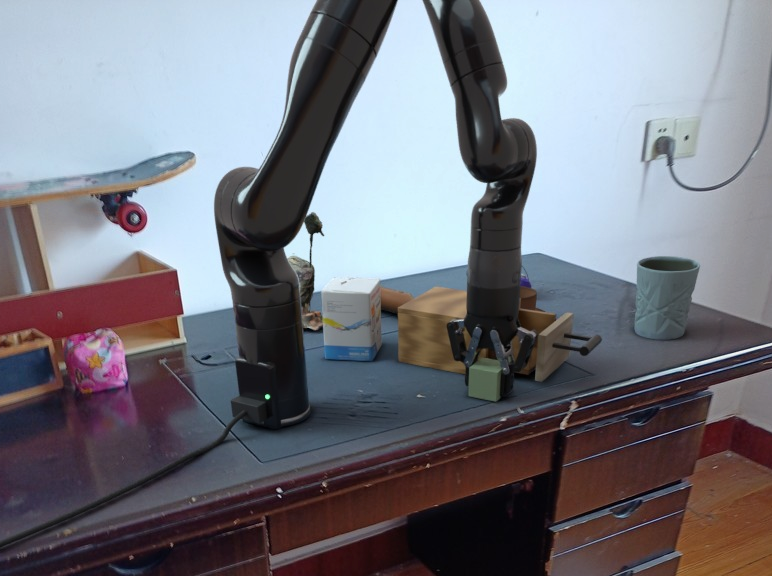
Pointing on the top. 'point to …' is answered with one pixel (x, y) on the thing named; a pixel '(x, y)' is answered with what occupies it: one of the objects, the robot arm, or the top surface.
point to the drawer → (549, 342)
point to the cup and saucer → (528, 299)
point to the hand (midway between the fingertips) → (488, 391)
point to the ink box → (352, 318)
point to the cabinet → (432, 329)
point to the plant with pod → (308, 276)
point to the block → (485, 379)
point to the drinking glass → (664, 296)
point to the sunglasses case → (393, 299)
